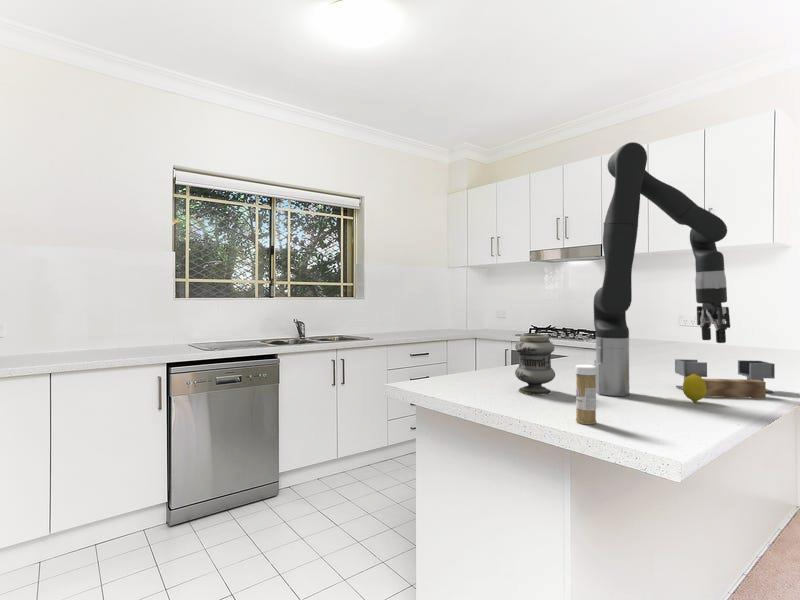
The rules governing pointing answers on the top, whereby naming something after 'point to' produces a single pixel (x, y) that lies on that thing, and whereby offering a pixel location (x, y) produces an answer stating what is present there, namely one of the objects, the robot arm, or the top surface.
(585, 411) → the sprinkles bottle
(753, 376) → the bracket stand
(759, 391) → the rail
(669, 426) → the top surface
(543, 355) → the apothecary jar
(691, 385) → the lemon
